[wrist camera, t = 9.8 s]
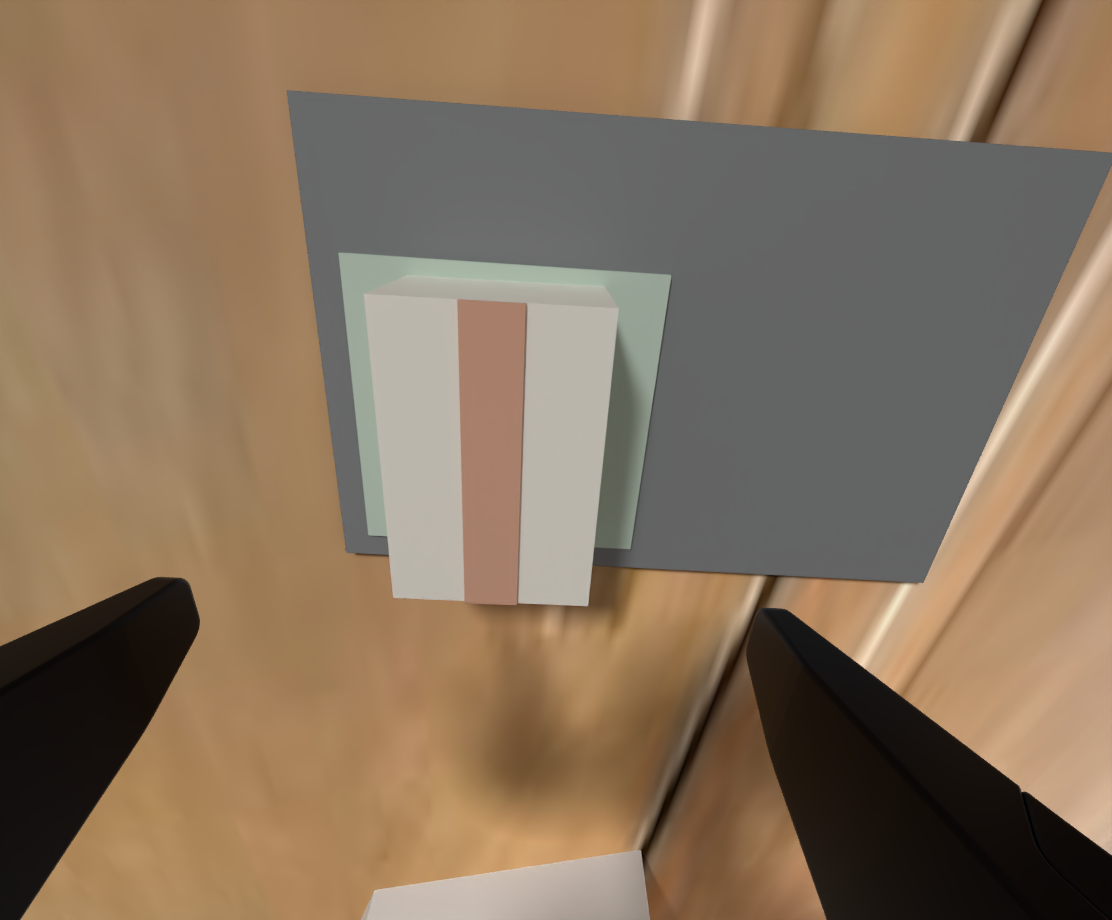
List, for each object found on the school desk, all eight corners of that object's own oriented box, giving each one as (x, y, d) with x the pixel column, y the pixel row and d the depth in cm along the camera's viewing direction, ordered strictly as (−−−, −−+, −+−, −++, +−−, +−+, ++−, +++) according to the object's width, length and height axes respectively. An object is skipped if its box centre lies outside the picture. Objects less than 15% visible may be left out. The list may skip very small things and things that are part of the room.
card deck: (582, 534, 20) (588, 608, 16) (423, 527, 20) (392, 600, 16) (604, 286, 16) (619, 308, 12) (407, 275, 16) (362, 294, 12)
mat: (1103, 154, 15) (1124, 152, 15) (917, 576, 21) (926, 585, 21) (293, 93, 14) (283, 88, 14) (350, 546, 21) (344, 555, 20)
